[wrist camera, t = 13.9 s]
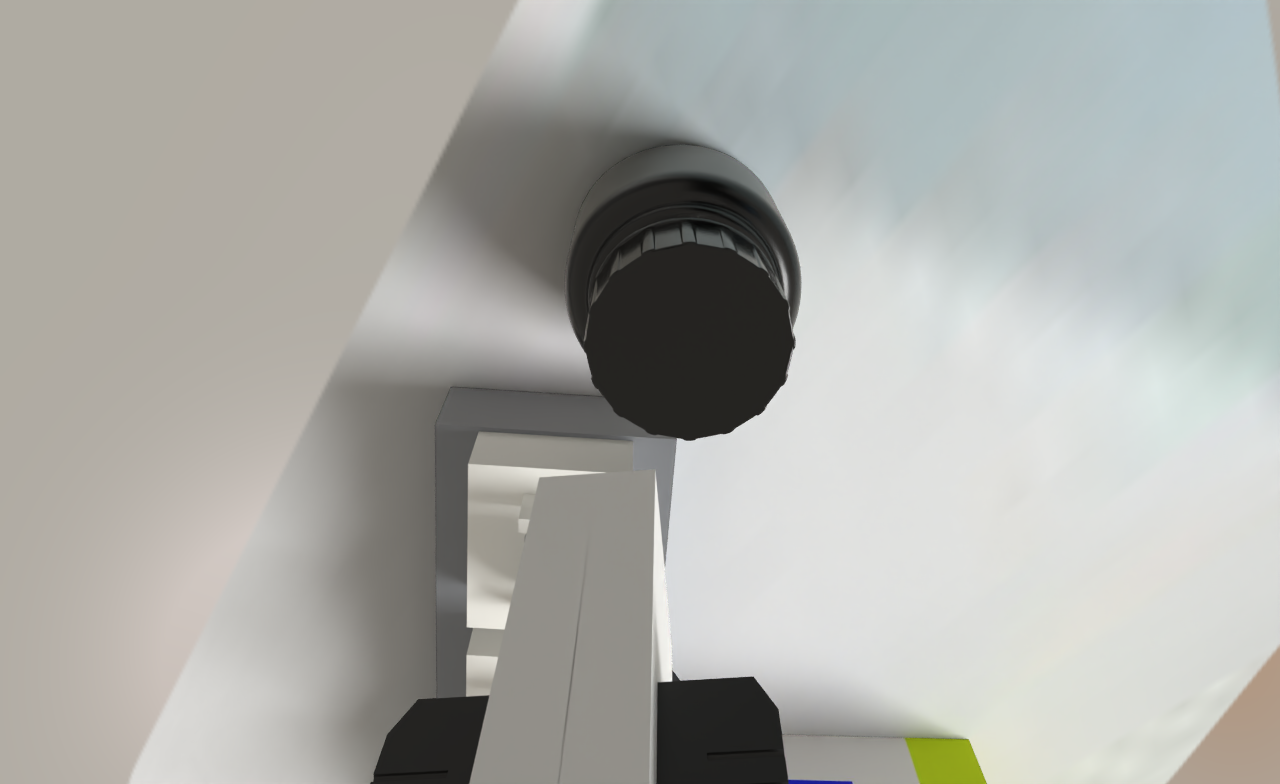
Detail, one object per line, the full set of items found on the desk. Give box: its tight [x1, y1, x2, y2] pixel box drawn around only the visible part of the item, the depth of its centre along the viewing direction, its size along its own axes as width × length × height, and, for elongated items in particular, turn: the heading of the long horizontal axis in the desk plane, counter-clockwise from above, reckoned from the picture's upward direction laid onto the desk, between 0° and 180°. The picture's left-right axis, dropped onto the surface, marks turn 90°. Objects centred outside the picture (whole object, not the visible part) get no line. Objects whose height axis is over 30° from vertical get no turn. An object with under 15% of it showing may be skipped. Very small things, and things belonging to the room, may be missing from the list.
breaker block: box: [435, 387, 680, 698], centre depth 45 cm, size 10×26×18 cm, turn 176°
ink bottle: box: [565, 145, 801, 441], centre depth 40 cm, size 10×9×12 cm
